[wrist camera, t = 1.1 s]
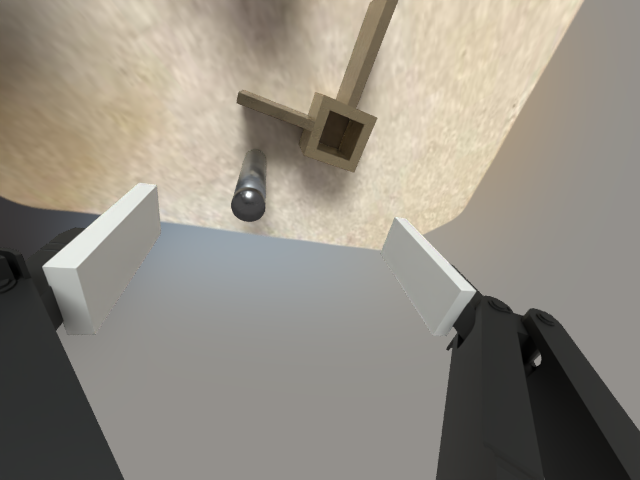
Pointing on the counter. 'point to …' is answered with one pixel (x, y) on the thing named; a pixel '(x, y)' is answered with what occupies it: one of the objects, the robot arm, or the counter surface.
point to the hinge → (345, 100)
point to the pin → (251, 188)
